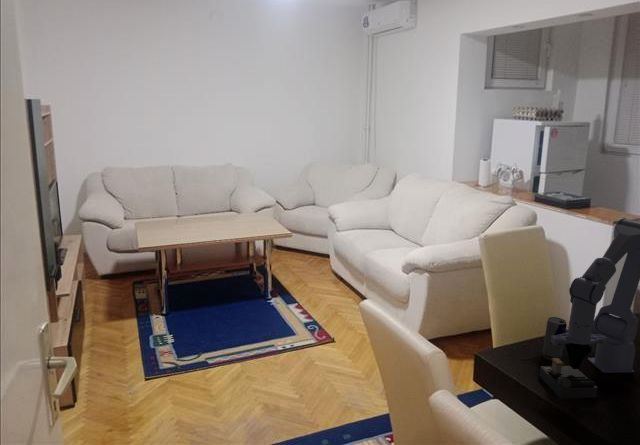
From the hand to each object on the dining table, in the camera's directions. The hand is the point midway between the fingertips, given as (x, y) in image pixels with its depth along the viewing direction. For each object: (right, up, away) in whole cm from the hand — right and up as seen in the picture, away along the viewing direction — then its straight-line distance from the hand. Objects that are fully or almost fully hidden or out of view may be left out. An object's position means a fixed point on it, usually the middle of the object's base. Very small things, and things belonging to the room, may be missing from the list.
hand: (573, 367), depth 138 cm
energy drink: (+1, -2, +16) cm, 16 cm away
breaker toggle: (-5, -1, 0) cm, 5 cm away
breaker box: (-2, -5, 0) cm, 6 cm away
